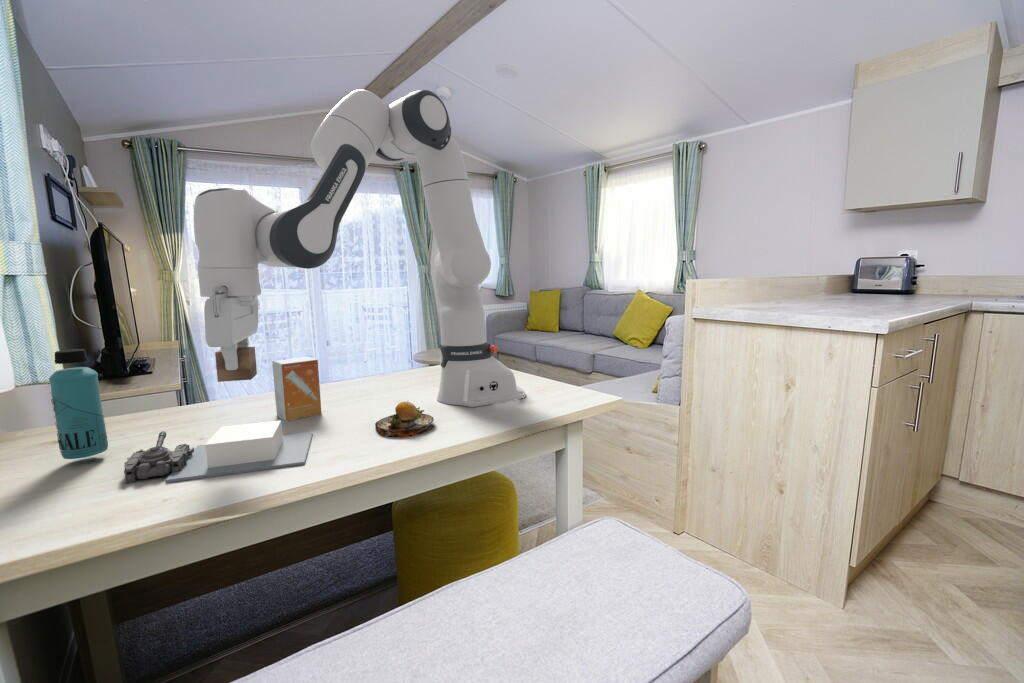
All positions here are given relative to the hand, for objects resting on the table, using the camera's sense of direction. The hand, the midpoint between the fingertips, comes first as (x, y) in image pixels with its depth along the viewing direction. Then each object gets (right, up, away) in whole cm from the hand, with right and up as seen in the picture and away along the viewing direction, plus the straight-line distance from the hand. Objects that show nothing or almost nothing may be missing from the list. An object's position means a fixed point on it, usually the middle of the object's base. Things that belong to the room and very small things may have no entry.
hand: (237, 366), depth 82 cm
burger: (+25, -14, +16) cm, 33 cm away
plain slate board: (+1, -16, +2) cm, 16 cm away
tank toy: (-12, -18, -2) cm, 22 cm away
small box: (-1, -13, +27) cm, 30 cm away
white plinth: (+1, -16, +2) cm, 16 cm away
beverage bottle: (-28, -17, +2) cm, 32 cm away
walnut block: (0, -2, 0) cm, 2 cm away
